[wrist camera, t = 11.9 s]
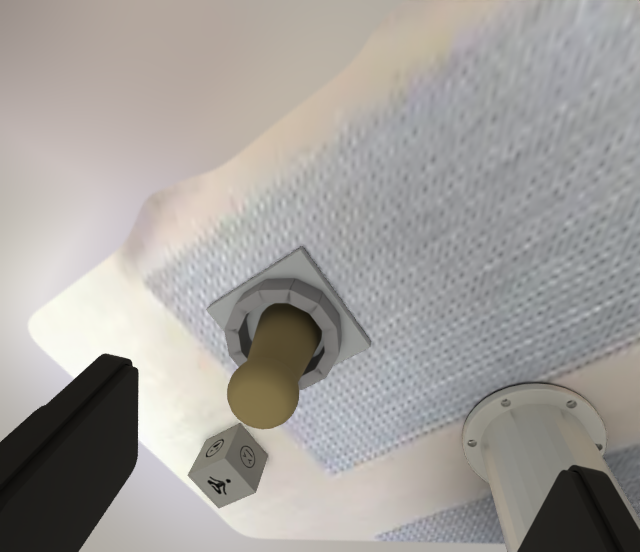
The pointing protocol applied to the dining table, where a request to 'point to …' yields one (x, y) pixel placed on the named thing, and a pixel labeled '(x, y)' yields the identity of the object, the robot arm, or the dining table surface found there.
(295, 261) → the ring board
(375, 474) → the dining table surface
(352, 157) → the dining table surface
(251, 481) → the dice cube
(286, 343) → the brown round-headed peg
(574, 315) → the dining table surface
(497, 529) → the dining table surface
